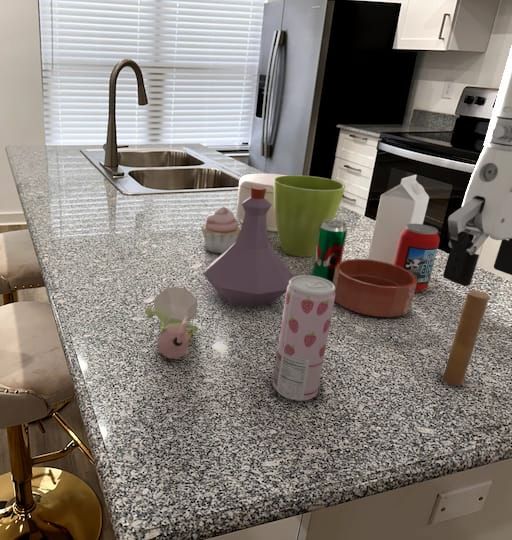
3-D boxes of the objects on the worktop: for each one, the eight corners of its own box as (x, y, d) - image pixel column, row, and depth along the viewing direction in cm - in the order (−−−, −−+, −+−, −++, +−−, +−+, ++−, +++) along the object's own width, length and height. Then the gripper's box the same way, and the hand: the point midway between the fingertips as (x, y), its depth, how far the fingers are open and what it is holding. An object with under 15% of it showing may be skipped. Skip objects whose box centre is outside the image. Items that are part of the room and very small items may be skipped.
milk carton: (366, 262, 112) (384, 175, 105) (381, 255, 116) (399, 171, 109) (399, 271, 107) (420, 181, 100) (413, 264, 112) (434, 177, 105)
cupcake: (206, 257, 111) (209, 212, 107) (194, 243, 119) (196, 201, 116) (246, 255, 113) (251, 211, 109) (231, 242, 121) (236, 200, 118)
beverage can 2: (409, 296, 96) (424, 235, 91) (381, 282, 101) (394, 224, 97) (434, 291, 98) (450, 231, 94) (405, 278, 104) (419, 221, 99)
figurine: (142, 307, 83) (134, 360, 70) (160, 269, 80) (155, 318, 67) (190, 326, 84) (191, 383, 71) (210, 290, 81) (215, 342, 68)
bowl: (393, 290, 98) (400, 261, 96) (421, 322, 86) (429, 290, 83) (323, 285, 99) (328, 256, 96) (340, 317, 87) (347, 284, 84)
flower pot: (287, 236, 127) (296, 172, 121) (344, 253, 117) (357, 183, 111) (252, 249, 117) (260, 180, 111) (311, 268, 107) (323, 193, 101)
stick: (457, 376, 71) (483, 290, 66) (465, 386, 69) (493, 298, 64) (439, 375, 71) (464, 289, 66) (447, 385, 69) (473, 297, 64)
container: (300, 216, 144) (306, 175, 140) (306, 236, 128) (314, 189, 123) (236, 211, 147) (240, 170, 143) (234, 229, 130) (238, 184, 126)
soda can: (342, 281, 101) (353, 223, 96) (329, 288, 98) (340, 228, 93) (318, 274, 104) (328, 217, 100) (305, 280, 101) (315, 221, 96)
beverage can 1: (326, 392, 66) (347, 286, 60) (297, 407, 63) (316, 297, 57) (292, 372, 70) (308, 270, 65) (263, 385, 67) (277, 279, 62)
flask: (309, 298, 93) (328, 190, 86) (258, 327, 82) (274, 205, 75) (236, 272, 104) (246, 173, 96) (182, 294, 93) (189, 185, 85)
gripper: (511, 142, 51) (464, 298, 57) (606, 140, 58) (554, 279, 64) (443, 132, 57) (407, 274, 63) (536, 131, 64) (496, 259, 70)
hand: (481, 276), depth 64 cm, fingers open, 9 cm apart
